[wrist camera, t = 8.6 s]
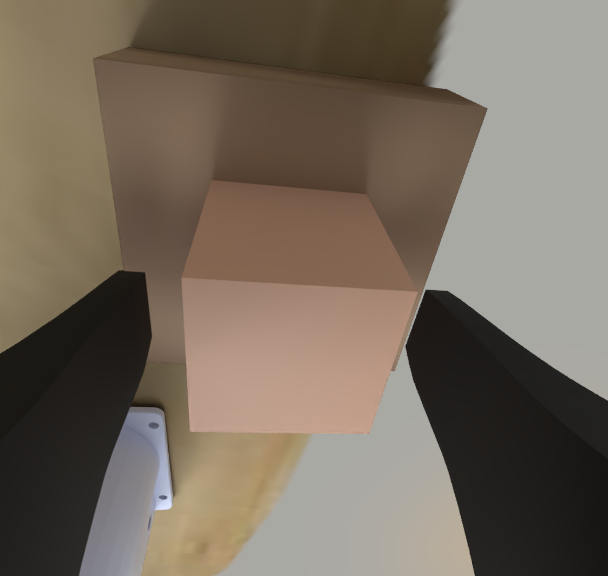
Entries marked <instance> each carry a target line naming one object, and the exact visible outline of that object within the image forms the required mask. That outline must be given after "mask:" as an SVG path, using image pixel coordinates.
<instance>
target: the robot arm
mask: <svg viewBox="0 0 608 576" xmlns="http://www.w3.org/2000/svg"><path fill="white" fill-rule="evenodd" d="M151 339H152V329H151V320H150V311H149V302H148V293H147V284H146V275H145V272H133V271H118V272H116V273H115V274H113V275H112V276H111V277H109V278H108V279H107V280H105V281H104V282H103V283H101V284H100V285H99V286H98V287H96V288H95V289H94V290H92V291H91V292H90V293H88V294H87V295H86V296H85V297H83V298H82V299H80V300H79V301H78V302H76V303H75V304H74V305H72V306H71V307H70V308H68V309H67V310H66V311H64V312H63V313H61V314H60V315H59V316H57V317H56V318H54V319H53V320H51V321H50V322H48V323H47V324H45V325H44V326H42V327H41V328H39V329H38V330H36V331H35V332H33V333H32V334H30V335H29V336H27V337H26V338H24V339H23V340H21V341H20V342H18V343H17V344H15V345H14V346H12V347H10V348H9V349H7V350H6V351H4V352H2V353H0V576H141V573H142V568H143V564H144V559H145V554H146V550H147V545H148V541H149V536H150V532H151V527H152V523H153V518H154V513H155V510H166V509H170V508H171V507H172V505H173V492H172V482H171V473H170V463H169V453H168V444H167V434H166V425H165V415H164V412H163V411H162V410H161V409H159V408H155V407H130V406H131V404H132V401H133V399H134V396H135V393H136V391H137V388H138V386H139V383H140V380H141V378H142V375H143V372H144V369H145V365H146V361H147V357H148V352H149V348H150V344H151ZM406 351H407V356H408V360H409V365H410V369H411V373H412V377H413V380H414V383H415V386H416V388H417V391H418V394H419V396H420V399H421V401H422V404H423V407H424V409H425V412H426V414H427V417H428V419H429V422H430V424H431V427H432V429H433V432H434V434H435V437H436V439H437V442H438V444H439V447H440V449H441V452H442V454H443V457H444V460H445V463H446V466H447V469H448V472H449V475H450V479H451V483H452V486H453V490H454V493H455V497H456V500H457V504H458V507H459V511H460V515H461V519H462V523H463V527H464V531H465V535H466V539H467V543H468V547H469V551H470V555H471V560H472V564H473V569H474V574H475V576H608V401H607V400H606V399H604V398H602V397H600V396H599V395H597V394H595V393H593V392H592V391H590V390H588V389H587V388H585V387H583V386H582V385H580V384H578V383H577V382H575V381H573V380H572V379H570V378H568V377H567V376H565V375H564V374H562V373H561V372H559V371H558V370H556V369H554V368H553V367H551V366H550V365H548V364H547V363H546V362H544V361H543V360H541V359H540V358H538V357H537V356H535V355H534V354H533V353H531V352H530V351H528V350H527V349H526V348H524V347H523V346H521V345H520V344H518V343H517V342H516V341H514V340H513V339H512V338H510V337H509V336H508V335H506V334H505V333H504V332H502V331H501V330H500V329H498V328H497V327H496V326H495V325H493V324H492V323H491V322H489V321H488V320H487V319H485V318H484V317H483V316H481V315H480V314H479V313H478V312H476V311H475V310H474V309H472V308H471V307H470V306H468V305H467V304H466V303H464V302H463V301H462V300H460V299H459V298H457V297H456V296H454V295H453V294H451V293H450V292H448V291H437V290H426V291H425V293H424V296H423V299H422V302H421V305H420V307H419V310H418V313H417V316H416V319H415V321H414V324H413V327H412V330H411V332H410V335H409V338H408V341H407V344H406Z"/></svg>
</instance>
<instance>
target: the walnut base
mask: <svg viewBox="0 0 608 576" xmlns="http://www.w3.org/2000/svg"><path fill="white" fill-rule="evenodd" d="M93 61H94V67H95V74H96V81H97V88H98V95H99V102H100V109H101V115H102V122H103V129H104V136H105V143H106V150H107V157H108V163H109V170H110V177H111V184H112V191H113V198H114V204H115V211H116V218H117V225H118V232H119V239H120V246H121V252H122V259H123V266H124V271H133V272H145V275H146V284H147V293H148V302H149V311H150V320H151V329H152V339H151V344H150V348H149V352H148V357H147V361H146V363H171V364H186V352H185V334H184V316H183V298H182V280H181V277H182V274H183V271H184V268H185V265H186V261H187V258H188V255H189V252H190V248H191V245H192V242H193V239H194V236H195V232H196V229H197V226H198V223H199V219H200V216H201V213H202V210H203V206H204V203H205V200H206V197H207V194H208V190H209V187H210V184H211V181H212V180H216V181H227V182H238V183H249V184H260V185H271V186H282V187H293V188H304V189H315V190H326V191H337V192H348V193H359V194H367V196H368V198H369V200H370V202H371V204H372V206H373V207H374V209H375V211H376V213H377V215H378V217H379V219H380V221H381V223H382V225H383V226H384V228H385V230H386V232H387V234H388V236H389V238H390V240H391V242H392V244H393V245H394V247H395V249H396V251H397V253H398V255H399V257H400V259H401V261H402V263H403V264H404V266H405V268H406V270H407V272H408V274H409V276H410V278H411V280H412V282H413V283H414V285H415V287H416V289H417V291H418V293H417V296H416V299H415V302H414V305H413V308H412V310H411V313H410V316H409V319H408V322H407V325H406V328H405V331H404V334H403V337H402V340H401V342H400V345H399V348H398V351H397V354H396V357H395V360H394V363H393V366H392V369H391V371H395V368H396V366H397V363H398V360H399V357H400V354H401V351H402V349H403V346H404V343H405V340H406V337H407V334H408V331H409V329H410V326H411V323H412V320H413V317H414V315H415V312H416V309H417V306H418V303H419V301H420V297H421V295H422V292H423V289H424V286H425V284H426V281H427V278H428V275H429V272H430V270H431V267H432V264H433V261H434V258H435V255H436V253H437V250H438V247H439V244H440V241H441V238H442V236H443V232H444V230H445V227H446V224H447V221H448V219H449V216H450V213H451V210H452V207H453V204H454V202H455V199H456V196H457V193H458V190H459V188H460V185H461V182H462V179H463V176H464V174H465V171H466V168H467V165H468V162H469V159H470V157H471V154H472V151H473V148H474V145H475V142H476V140H477V137H478V134H479V131H480V128H481V126H482V123H483V120H484V117H485V114H486V111H487V108H485V107H483V106H481V105H479V104H477V103H475V102H472V101H470V100H468V99H466V98H464V97H462V96H460V95H458V94H456V93H453V92H451V91H449V90H447V89H440V88H433V87H425V86H417V85H410V84H402V83H395V82H387V81H380V80H372V79H365V78H357V77H349V76H342V75H334V74H327V73H319V72H312V71H304V70H297V69H289V68H281V67H274V66H266V65H259V64H251V63H244V62H236V61H229V60H221V59H213V58H206V57H198V56H191V55H183V54H176V53H168V52H161V51H153V50H145V49H138V48H130V47H128V48H125V49H121V50H118V51H115V52H112V53H109V54H105V55H102V56H99V57H96V58H93Z"/></svg>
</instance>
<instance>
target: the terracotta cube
mask: <svg viewBox="0 0 608 576" xmlns="http://www.w3.org/2000/svg"><path fill="white" fill-rule="evenodd" d="M181 280H182V298H183V316H184V334H185V352H186V370H187V388H188V406H189V424H190V432H248V433H340V434H341V433H343V434H345V433H346V434H369V433H370V430H371V427H372V424H373V421H374V418H375V415H376V412H377V409H378V406H379V403H380V400H381V398H382V395H383V392H384V389H385V386H386V383H387V380H388V377H389V374H390V371H391V369H392V366H393V363H394V360H395V357H396V354H397V351H398V348H399V345H400V342H401V340H402V337H403V334H404V331H405V328H406V325H407V322H408V319H409V316H410V313H411V310H412V308H413V305H414V302H415V299H416V296H417V293H418V291H417V289H416V287H415V285H414V283H413V282H412V280H411V278H410V276H409V274H408V272H407V270H406V268H405V266H404V264H403V263H402V261H401V259H400V257H399V255H398V253H397V251H396V249H395V247H394V245H393V244H392V242H391V240H390V238H389V236H388V234H387V232H386V230H385V228H384V226H383V225H382V223H381V221H380V219H379V217H378V215H377V213H376V211H375V209H374V207H373V206H372V204H371V202H370V200H369V198H368V196H367V194H359V193H348V192H337V191H326V190H315V189H304V188H293V187H282V186H271V185H260V184H249V183H238V182H227V181H216V180H212V181H211V184H210V187H209V190H208V194H207V197H206V200H205V203H204V206H203V210H202V213H201V216H200V219H199V223H198V226H197V229H196V232H195V236H194V239H193V242H192V245H191V248H190V252H189V255H188V258H187V261H186V265H185V268H184V271H183V274H182V277H181Z"/></svg>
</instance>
